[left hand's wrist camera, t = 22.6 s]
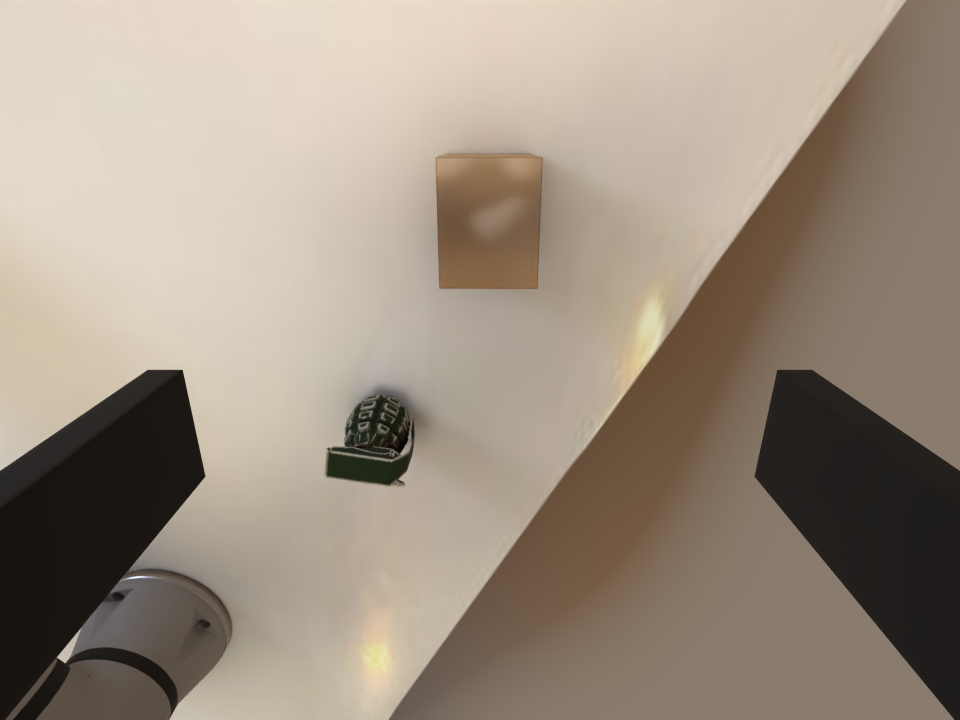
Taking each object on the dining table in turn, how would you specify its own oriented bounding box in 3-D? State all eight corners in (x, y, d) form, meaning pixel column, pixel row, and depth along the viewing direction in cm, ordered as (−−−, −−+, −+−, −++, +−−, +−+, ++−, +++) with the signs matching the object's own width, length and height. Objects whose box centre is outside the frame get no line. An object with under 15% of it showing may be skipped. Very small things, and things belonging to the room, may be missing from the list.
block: (527, 261, 48) (537, 288, 39) (447, 261, 48) (439, 288, 39) (530, 153, 45) (542, 157, 36) (445, 153, 45) (435, 157, 36)
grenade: (350, 433, 55) (322, 493, 45) (355, 381, 52) (327, 433, 43) (416, 442, 55) (402, 504, 46) (423, 391, 53) (410, 445, 43)
